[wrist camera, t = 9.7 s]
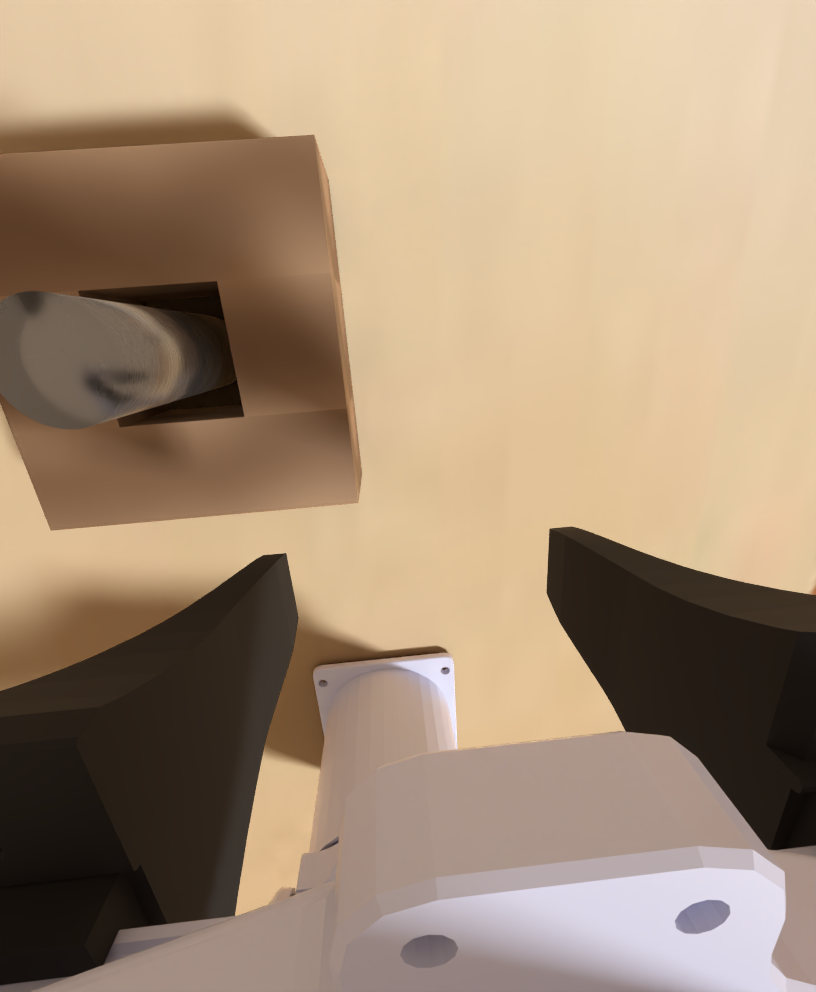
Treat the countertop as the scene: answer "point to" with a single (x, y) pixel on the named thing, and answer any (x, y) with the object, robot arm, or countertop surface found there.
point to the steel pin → (104, 357)
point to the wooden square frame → (183, 274)
